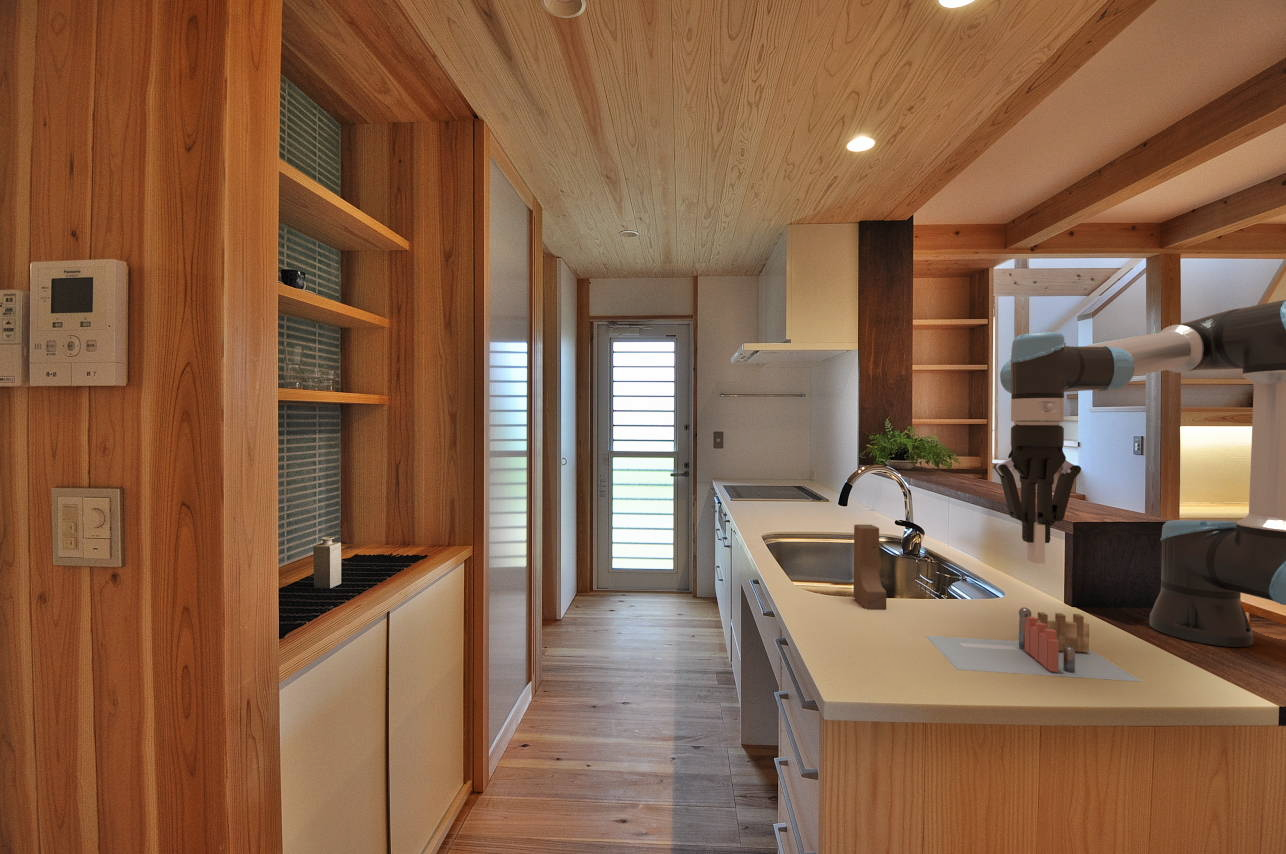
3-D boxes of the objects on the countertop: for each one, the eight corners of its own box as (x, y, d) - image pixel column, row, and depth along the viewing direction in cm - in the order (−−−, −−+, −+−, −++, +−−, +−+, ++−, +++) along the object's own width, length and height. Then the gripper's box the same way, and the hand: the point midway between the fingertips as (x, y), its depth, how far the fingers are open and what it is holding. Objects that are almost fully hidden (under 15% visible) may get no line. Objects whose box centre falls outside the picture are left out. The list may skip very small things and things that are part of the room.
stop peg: (1071, 669, 99) (1071, 645, 99) (1077, 673, 97) (1077, 649, 97) (1061, 668, 99) (1061, 645, 99) (1066, 672, 97) (1067, 648, 97)
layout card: (1082, 646, 110) (1082, 644, 110) (1142, 684, 94) (1142, 681, 94) (925, 637, 114) (925, 635, 114) (957, 671, 98) (957, 669, 98)
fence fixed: (1084, 649, 107) (1085, 614, 107) (1089, 652, 105) (1089, 617, 105) (1031, 646, 108) (1031, 611, 108) (1035, 649, 107) (1035, 614, 107)
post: (1027, 647, 108) (1028, 606, 108) (1033, 651, 107) (1033, 609, 107) (1016, 646, 109) (1016, 605, 109) (1021, 650, 107) (1021, 609, 107)
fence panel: (1024, 649, 106) (1024, 614, 106) (1032, 650, 106) (1033, 615, 106) (1049, 671, 97) (1050, 632, 97) (1059, 671, 97) (1059, 633, 97)
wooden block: (887, 611, 130) (887, 531, 130) (866, 611, 130) (867, 530, 130) (871, 599, 139) (872, 524, 139) (852, 599, 139) (853, 524, 139)
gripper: (1006, 423, 97) (1005, 565, 97) (1092, 424, 95) (1091, 568, 95) (986, 423, 104) (985, 555, 104) (1065, 424, 102) (1064, 558, 102)
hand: (1035, 561), depth 100 cm, fingers closed
